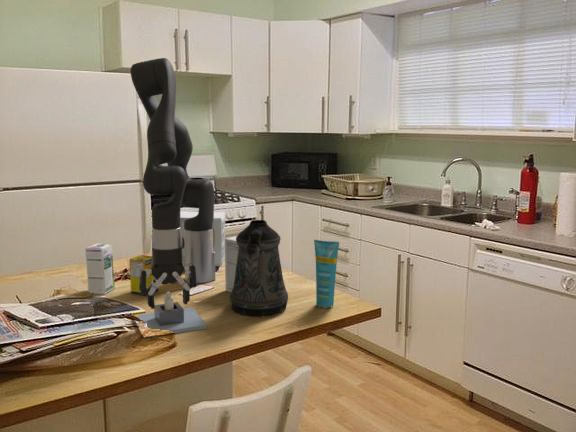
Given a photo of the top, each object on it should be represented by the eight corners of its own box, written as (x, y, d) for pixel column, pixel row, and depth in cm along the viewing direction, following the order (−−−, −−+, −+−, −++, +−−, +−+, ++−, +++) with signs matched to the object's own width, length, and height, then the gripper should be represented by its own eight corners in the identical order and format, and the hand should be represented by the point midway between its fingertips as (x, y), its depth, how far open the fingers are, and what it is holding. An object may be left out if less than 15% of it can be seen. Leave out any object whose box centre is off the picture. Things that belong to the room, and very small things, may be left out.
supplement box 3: (267, 290, 169) (267, 238, 166) (245, 297, 163) (245, 242, 160) (246, 284, 176) (246, 233, 173) (224, 290, 169) (223, 237, 166)
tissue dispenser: (177, 314, 145) (177, 301, 145) (184, 322, 140) (183, 309, 139) (154, 317, 143) (154, 305, 142) (159, 326, 137) (159, 312, 136)
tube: (310, 306, 155) (311, 241, 152) (314, 301, 160) (316, 237, 156) (336, 309, 153) (337, 243, 149) (339, 304, 157) (341, 239, 154)
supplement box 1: (158, 290, 168) (157, 256, 166) (146, 296, 163) (144, 261, 161) (143, 288, 171) (142, 254, 169) (130, 293, 165) (128, 258, 163)
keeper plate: (192, 310, 151) (191, 281, 149) (207, 328, 138) (206, 296, 137) (133, 319, 144) (132, 288, 143) (143, 338, 132) (141, 305, 130)
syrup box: (105, 294, 164) (102, 248, 161) (87, 293, 165) (84, 247, 162) (115, 289, 169) (112, 243, 167) (97, 287, 170) (95, 242, 168)
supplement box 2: (174, 266, 196) (173, 217, 193) (181, 257, 209) (180, 210, 206) (222, 266, 196) (221, 217, 193) (226, 257, 209) (225, 211, 206)
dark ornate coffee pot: (276, 295, 165) (277, 214, 160) (300, 317, 147) (301, 226, 142) (223, 301, 159) (222, 217, 155) (241, 324, 141) (240, 230, 137)
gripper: (190, 239, 144) (192, 297, 147) (135, 244, 138) (138, 305, 141) (198, 245, 137) (199, 306, 140) (141, 250, 131) (143, 314, 134)
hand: (168, 305), depth 140 cm, fingers open, 8 cm apart
